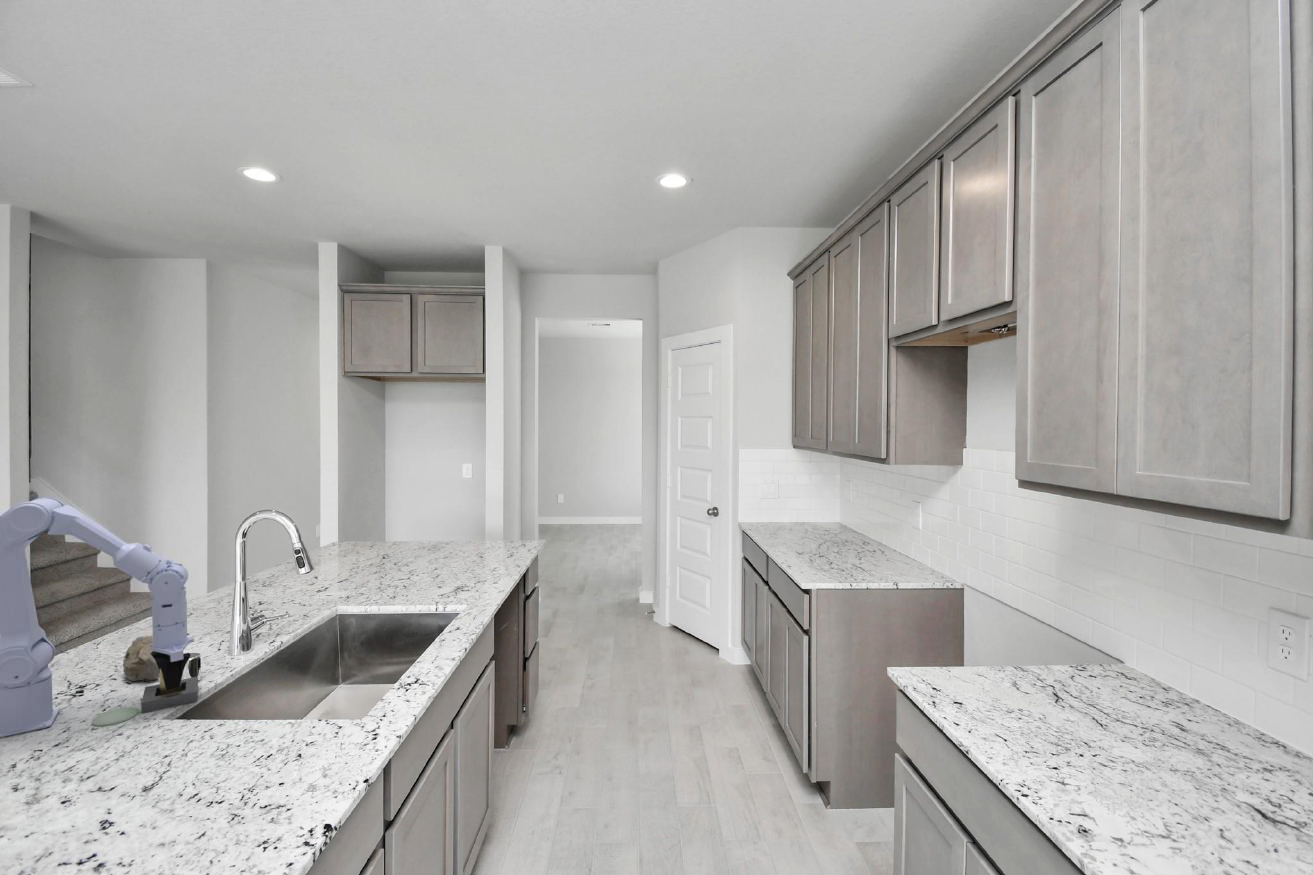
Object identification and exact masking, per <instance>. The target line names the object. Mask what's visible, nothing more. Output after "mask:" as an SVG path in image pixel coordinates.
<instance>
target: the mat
mask: <svg viewBox="0 0 1313 875" xmlns="http://www.w3.org/2000/svg"><path fill="white" fill-rule="evenodd" d="M139 712H140V710H139V708H138V707H135V706H128V707H119V708H115V709H111V710H108V711H105V712H103V713H100V714H98V715H96V716H95V717H94V718H92V719H91V725H92V726H94V727H105V726H106V727H107V726H113V725H117V724H121V723H124V722H127V721H129V720H131V719H133V718H135V717H136V716H137V715H138V714H139Z"/></svg>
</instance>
